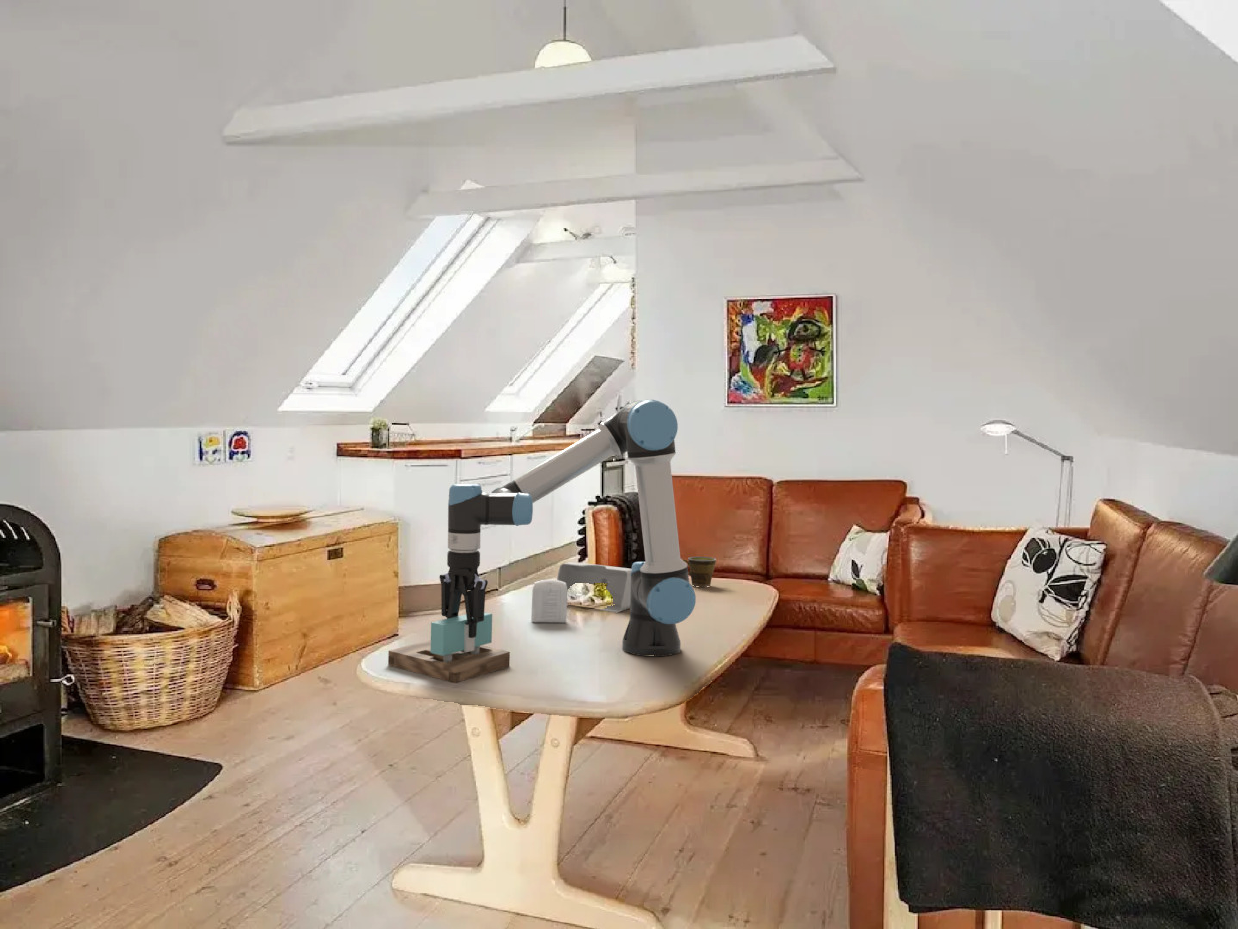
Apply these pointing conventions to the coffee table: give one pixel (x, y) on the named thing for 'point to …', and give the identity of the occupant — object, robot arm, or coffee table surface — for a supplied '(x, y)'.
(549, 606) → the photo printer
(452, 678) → the keyhole board
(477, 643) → the block with headed pegs
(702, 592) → the coffee table surface
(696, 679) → the coffee table surface
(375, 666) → the coffee table surface
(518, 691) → the coffee table surface
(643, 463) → the robot arm
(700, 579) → the ceramic cup
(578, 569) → the grey storage bin
